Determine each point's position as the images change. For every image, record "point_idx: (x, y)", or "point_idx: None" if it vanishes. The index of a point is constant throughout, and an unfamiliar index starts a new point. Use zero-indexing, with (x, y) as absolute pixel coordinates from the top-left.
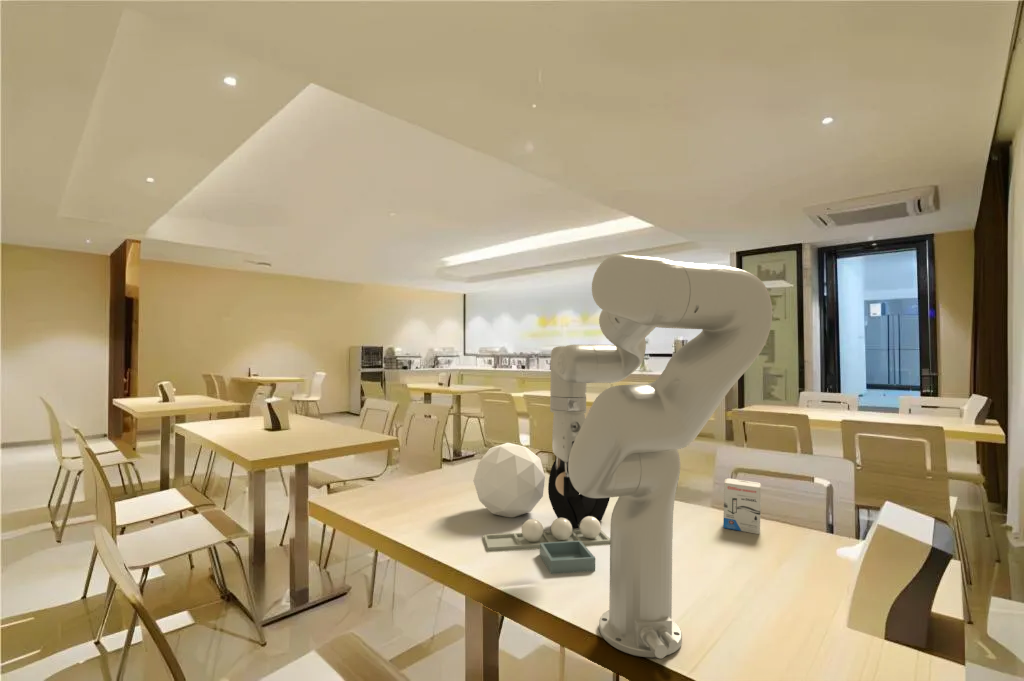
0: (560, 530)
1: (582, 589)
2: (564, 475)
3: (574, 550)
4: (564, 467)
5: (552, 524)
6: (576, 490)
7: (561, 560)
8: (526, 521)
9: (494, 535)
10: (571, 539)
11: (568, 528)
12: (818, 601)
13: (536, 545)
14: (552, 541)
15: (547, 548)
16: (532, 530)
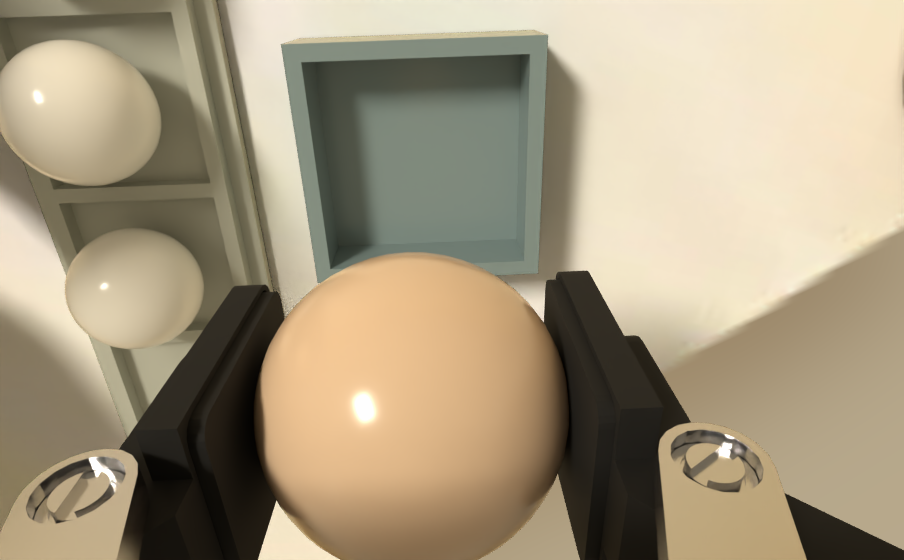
0: (146, 142)
1: (668, 144)
2: (494, 550)
3: (315, 84)
4: (187, 556)
5: (87, 185)
6: (644, 345)
7: (539, 225)
8: (118, 344)
9: (137, 418)
10: (105, 38)
11: (125, 87)
12: None
13: (243, 262)
14: (152, 161)
15: (332, 237)
16: (189, 307)
